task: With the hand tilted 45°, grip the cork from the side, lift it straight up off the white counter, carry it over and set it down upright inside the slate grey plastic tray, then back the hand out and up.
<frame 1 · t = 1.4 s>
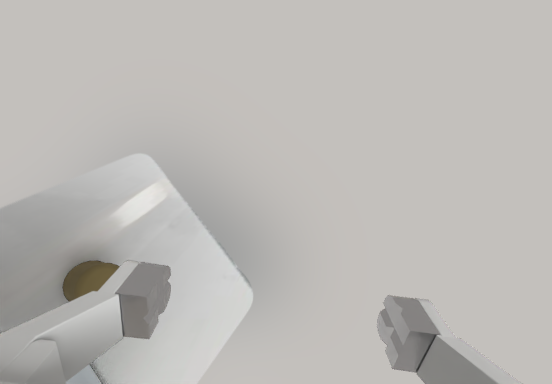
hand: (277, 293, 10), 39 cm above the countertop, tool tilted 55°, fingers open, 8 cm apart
cork: (90, 282, 37), on the countertop
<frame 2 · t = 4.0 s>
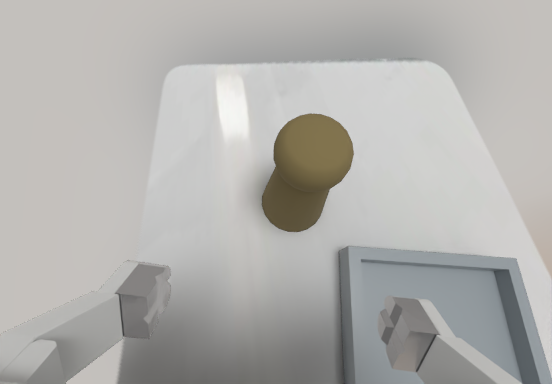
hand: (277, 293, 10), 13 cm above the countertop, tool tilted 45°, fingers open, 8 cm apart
slate grey tray: (430, 348, 22), on the countertop
cork: (292, 202, 26), on the countertop
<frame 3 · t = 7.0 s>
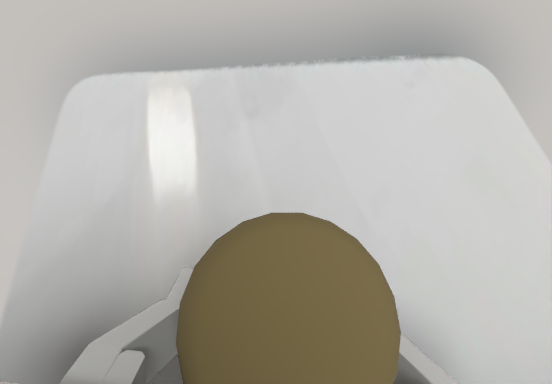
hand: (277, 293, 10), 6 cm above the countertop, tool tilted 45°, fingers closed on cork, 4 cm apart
cork: (267, 307, 15), on the countertop, touching gripper
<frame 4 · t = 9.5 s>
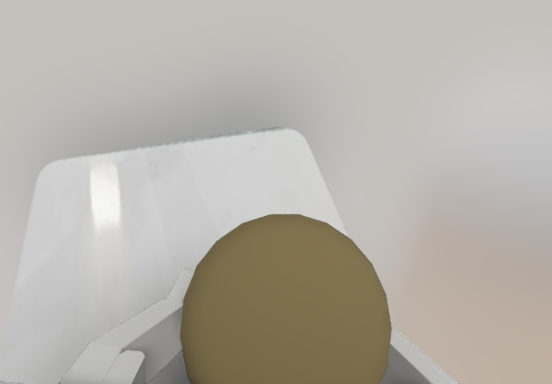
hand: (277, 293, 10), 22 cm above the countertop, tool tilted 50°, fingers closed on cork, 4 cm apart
cork: (266, 304, 16), point 15 cm above the countertop, touching gripper
when the fingers open (8 cm above the countertop, at t = 12.5 s): cork moves 1 cm, resting on slate grey tray.
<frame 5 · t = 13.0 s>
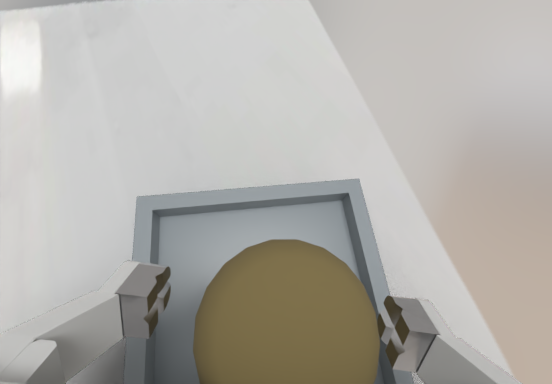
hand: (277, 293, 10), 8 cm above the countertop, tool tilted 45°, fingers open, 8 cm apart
slate grey tray: (264, 306, 17), on the countertop
cork: (264, 312, 16), point 1 cm above the countertop, touching slate grey tray
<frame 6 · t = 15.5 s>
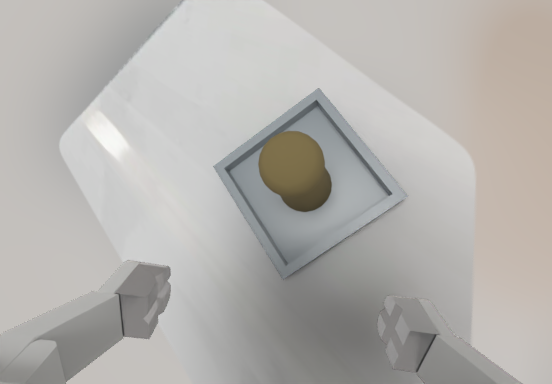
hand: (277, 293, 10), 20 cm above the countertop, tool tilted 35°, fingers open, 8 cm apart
slate grey tray: (304, 184, 31), on the countertop
cork: (304, 185, 30), point 1 cm above the countertop, touching slate grey tray
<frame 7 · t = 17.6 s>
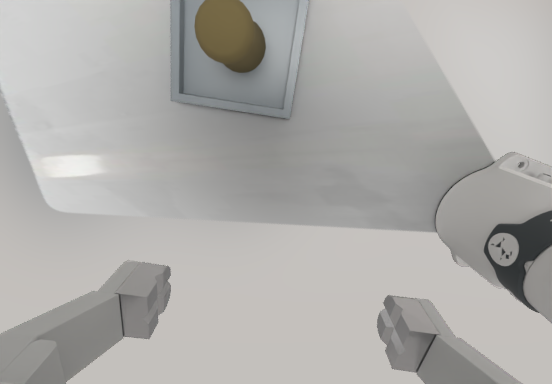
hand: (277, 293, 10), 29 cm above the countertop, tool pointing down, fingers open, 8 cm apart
slate grey tray: (239, 45, 33), on the countertop
cork: (241, 45, 32), point 1 cm above the countertop, touching slate grey tray
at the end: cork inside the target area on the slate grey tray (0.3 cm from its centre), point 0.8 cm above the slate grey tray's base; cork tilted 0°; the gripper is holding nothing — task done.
